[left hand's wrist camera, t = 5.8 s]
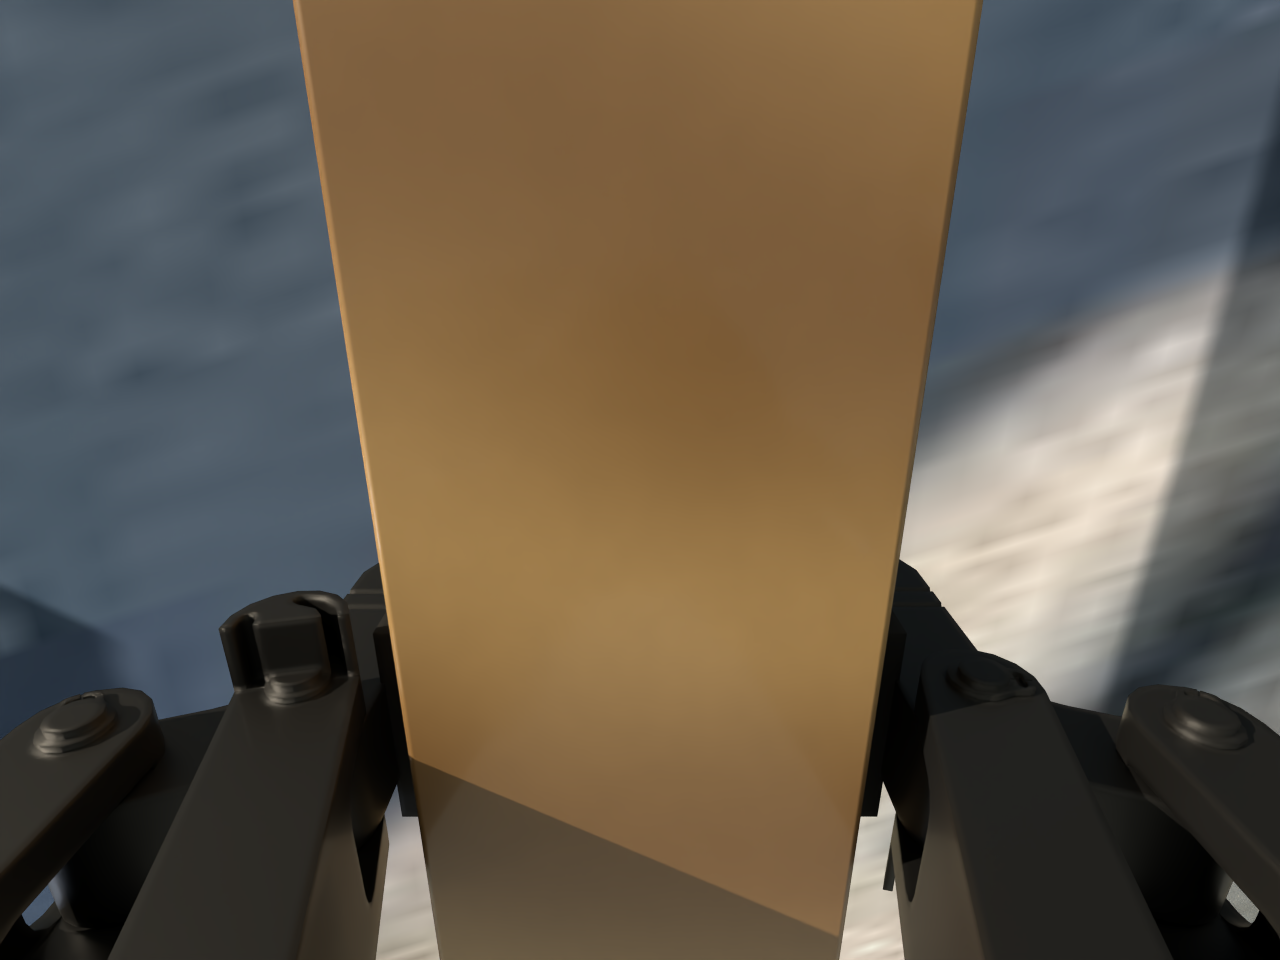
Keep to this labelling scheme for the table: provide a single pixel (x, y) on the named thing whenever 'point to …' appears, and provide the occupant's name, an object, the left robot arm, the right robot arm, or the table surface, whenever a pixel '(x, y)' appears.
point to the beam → (638, 437)
